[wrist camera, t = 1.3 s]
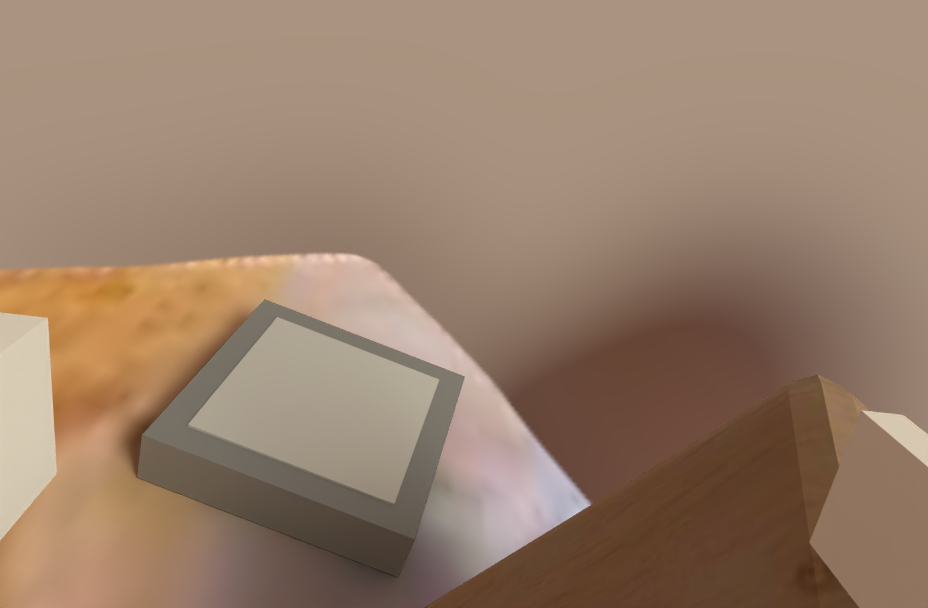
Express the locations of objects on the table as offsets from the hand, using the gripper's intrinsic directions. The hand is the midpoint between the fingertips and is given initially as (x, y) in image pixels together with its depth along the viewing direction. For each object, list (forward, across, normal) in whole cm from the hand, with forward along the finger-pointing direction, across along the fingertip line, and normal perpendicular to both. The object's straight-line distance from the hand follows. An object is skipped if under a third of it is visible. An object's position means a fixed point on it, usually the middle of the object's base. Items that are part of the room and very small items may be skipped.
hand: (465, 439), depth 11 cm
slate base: (+26, -5, -17) cm, 32 cm away
